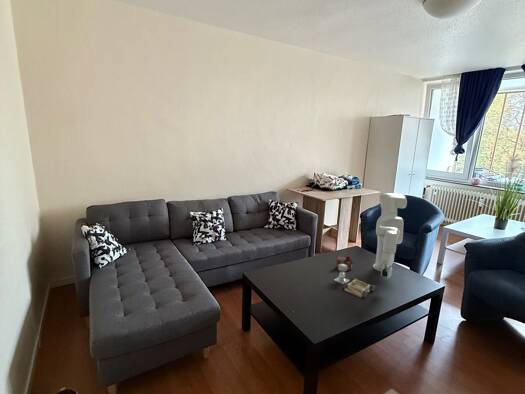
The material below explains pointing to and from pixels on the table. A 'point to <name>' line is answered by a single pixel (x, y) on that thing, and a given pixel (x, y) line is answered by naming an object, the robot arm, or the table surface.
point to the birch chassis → (358, 287)
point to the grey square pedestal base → (341, 278)
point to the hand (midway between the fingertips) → (386, 274)
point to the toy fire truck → (345, 261)
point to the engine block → (388, 272)
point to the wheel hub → (342, 267)
